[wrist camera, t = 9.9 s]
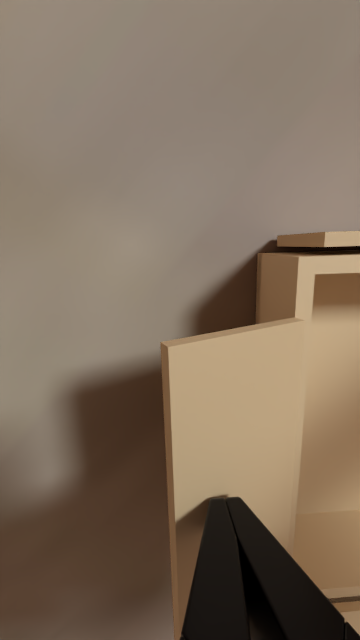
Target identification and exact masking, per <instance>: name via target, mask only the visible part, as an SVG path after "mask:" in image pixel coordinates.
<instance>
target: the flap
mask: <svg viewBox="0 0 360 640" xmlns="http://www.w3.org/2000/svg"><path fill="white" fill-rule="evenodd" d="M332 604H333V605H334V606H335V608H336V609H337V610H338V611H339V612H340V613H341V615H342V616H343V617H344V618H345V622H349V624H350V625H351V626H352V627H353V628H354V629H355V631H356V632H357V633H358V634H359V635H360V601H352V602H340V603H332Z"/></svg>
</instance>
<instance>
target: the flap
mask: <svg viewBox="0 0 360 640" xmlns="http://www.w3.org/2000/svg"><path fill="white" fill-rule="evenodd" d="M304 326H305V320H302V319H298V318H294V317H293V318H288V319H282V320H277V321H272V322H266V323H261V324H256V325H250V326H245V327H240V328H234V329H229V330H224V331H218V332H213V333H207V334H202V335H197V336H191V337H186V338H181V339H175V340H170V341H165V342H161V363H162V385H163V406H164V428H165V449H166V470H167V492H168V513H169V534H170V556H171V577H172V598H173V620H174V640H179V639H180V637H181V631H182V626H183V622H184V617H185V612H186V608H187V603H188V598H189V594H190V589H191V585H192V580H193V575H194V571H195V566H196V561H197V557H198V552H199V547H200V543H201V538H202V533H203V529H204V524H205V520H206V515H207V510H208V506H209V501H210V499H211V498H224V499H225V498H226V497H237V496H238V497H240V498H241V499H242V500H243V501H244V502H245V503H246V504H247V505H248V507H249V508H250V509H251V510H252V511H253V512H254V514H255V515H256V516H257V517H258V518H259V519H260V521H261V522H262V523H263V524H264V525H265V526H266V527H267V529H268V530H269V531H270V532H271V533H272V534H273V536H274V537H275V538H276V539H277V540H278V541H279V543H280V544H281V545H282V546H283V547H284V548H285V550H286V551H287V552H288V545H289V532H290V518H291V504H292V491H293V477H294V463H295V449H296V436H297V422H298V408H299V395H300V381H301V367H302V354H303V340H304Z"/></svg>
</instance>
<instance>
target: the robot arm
mask: <svg viewBox="0 0 360 640" xmlns="http://www.w3.org/2000/svg"><path fill="white" fill-rule="evenodd" d="M179 640H360V635H359V634H358V633H357V632H356V631H355V629H354V628H353V627H352V626H351V625H350V624H349V622H345V618H344V617H343V616H342V615H341V613H340V612H339V611H338V610H337V609H336V608H335V606H334V605H333V604H332V603H331V602H330V601H329V599H328V598H327V597H326V596H325V595H324V594H323V592H322V591H321V590H320V589H319V588H318V587H317V585H316V584H315V583H314V582H313V581H312V580H311V579H310V577H309V576H308V575H307V574H306V573H305V572H304V570H303V569H302V568H301V567H300V566H299V565H298V563H297V562H296V561H295V560H294V559H293V558H292V556H291V555H290V554H289V553H288V552H287V551H286V550H285V548H284V547H283V546H282V545H281V544H280V543H279V541H278V540H277V539H276V538H275V537H274V536H273V534H272V533H271V532H270V531H269V530H268V529H267V527H266V526H265V525H264V524H263V523H262V522H261V521H260V519H259V518H258V517H257V516H256V515H255V514H254V512H253V511H252V510H251V509H250V508H249V507H248V505H247V504H246V503H245V502H244V501H243V500H242V499H241V498H240V497H238V496H237V497H226V498H225V499H224V498H211V499H210V501H209V506H208V510H207V515H206V520H205V524H204V529H203V533H202V538H201V543H200V547H199V552H198V557H197V561H196V566H195V571H194V575H193V580H192V585H191V589H190V594H189V598H188V603H187V608H186V612H185V617H184V622H183V626H182V631H181V637H180V639H179Z"/></svg>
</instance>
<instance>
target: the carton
mask: <svg viewBox="0 0 360 640" xmlns="http://www.w3.org/2000/svg"><path fill="white" fill-rule="evenodd" d="M277 246H289V247H340V246H360V231H344V232H320V233H307V234H294V235H281V236H277ZM293 317H294V318H298V319H302V320H305V326H304V340H303V354H302V367H301V381H300V395H299V408H298V422H297V436H296V449H295V463H294V477H293V491H292V504H291V518H290V532H289V545H288V553H289V554H290V555H291V556H292V558H293V559H294V560H295V561H296V562H297V563H298V565H299V566H300V567H301V568H302V569H303V570H304V572H305V573H306V574H307V575H308V576H309V577H310V579H311V580H312V581H313V582H314V583H315V584H316V585H317V587H318V588H319V589H320V590H321V591H322V592H323V594H324V595H325V596H326V597H327V598H328V599H329V598H341V597H352V596H360V250H344V251H313V252H281V253H258V260H257V291H256V321H255V325H256V324H261V323H266V322H272V321H277V320H282V319H288V318H293Z"/></svg>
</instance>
